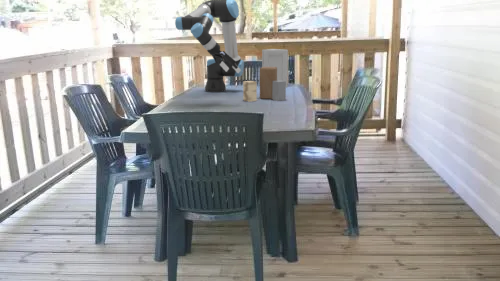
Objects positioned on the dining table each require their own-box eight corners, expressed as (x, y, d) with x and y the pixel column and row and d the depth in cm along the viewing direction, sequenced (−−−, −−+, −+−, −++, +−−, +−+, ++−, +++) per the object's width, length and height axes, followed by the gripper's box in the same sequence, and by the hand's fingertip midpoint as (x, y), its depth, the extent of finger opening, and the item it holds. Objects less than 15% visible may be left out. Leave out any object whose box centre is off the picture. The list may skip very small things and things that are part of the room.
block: (274, 99, 293) (275, 68, 288) (259, 98, 295) (259, 67, 290) (276, 97, 303) (277, 66, 298) (262, 96, 305) (262, 66, 300)
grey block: (272, 99, 293) (272, 81, 290) (279, 98, 296) (280, 80, 293) (278, 101, 288) (278, 81, 285) (285, 100, 291) (285, 81, 288)
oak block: (243, 100, 290) (243, 81, 287) (251, 99, 293) (251, 80, 290) (248, 101, 285) (248, 82, 282) (256, 100, 288) (256, 81, 285)
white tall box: (283, 84, 363) (284, 48, 356) (287, 87, 349) (288, 49, 342) (259, 85, 361) (260, 49, 354) (262, 87, 346) (263, 50, 339)
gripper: (197, 50, 276) (219, 73, 288) (218, 51, 256) (240, 77, 268) (205, 41, 278) (226, 65, 290) (226, 41, 258) (248, 67, 269)
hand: (233, 70), depth 279 cm, fingers open, 13 cm apart
